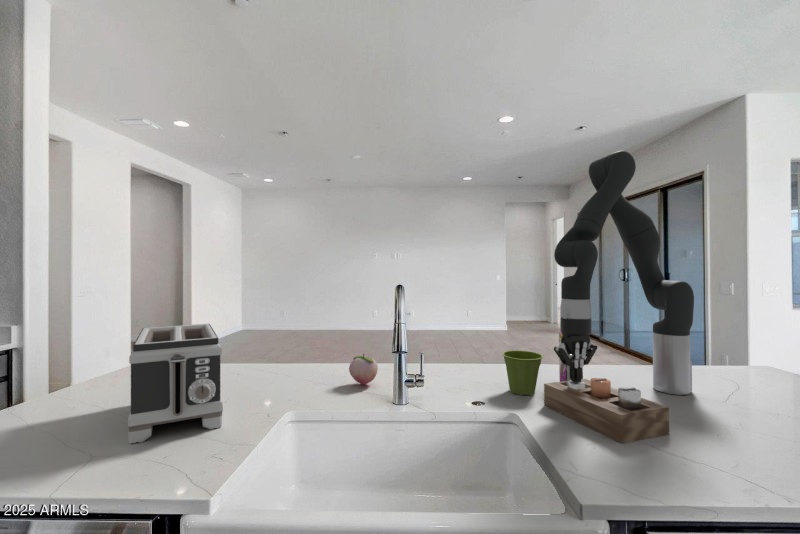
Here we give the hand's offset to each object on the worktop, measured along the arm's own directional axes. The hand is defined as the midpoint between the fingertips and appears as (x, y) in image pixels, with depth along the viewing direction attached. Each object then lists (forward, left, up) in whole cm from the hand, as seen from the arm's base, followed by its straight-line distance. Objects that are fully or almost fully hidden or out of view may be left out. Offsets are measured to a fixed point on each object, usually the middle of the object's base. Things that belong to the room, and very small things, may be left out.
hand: (575, 381), depth 103 cm
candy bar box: (-12, -15, -7) cm, 21 cm away
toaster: (+99, -28, -7) cm, 103 cm away
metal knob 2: (0, +16, -1) cm, 16 cm away
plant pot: (+5, -16, -7) cm, 18 cm away
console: (0, +8, -7) cm, 11 cm away
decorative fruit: (+48, -39, -7) cm, 62 cm away
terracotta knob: (0, +8, -1) cm, 8 cm away
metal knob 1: (0, 0, -4) cm, 4 cm away
